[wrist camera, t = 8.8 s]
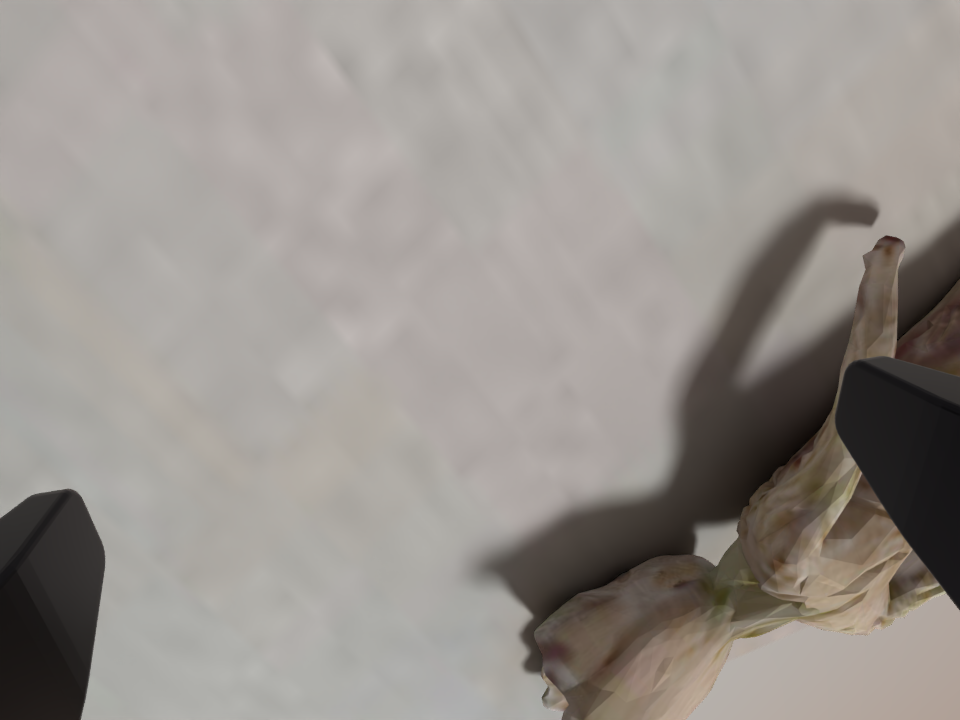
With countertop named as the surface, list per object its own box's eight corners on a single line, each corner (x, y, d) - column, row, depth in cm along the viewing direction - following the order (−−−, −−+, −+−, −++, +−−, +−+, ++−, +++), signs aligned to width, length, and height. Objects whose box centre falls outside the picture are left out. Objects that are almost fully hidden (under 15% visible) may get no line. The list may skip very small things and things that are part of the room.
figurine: (1027, 28, 25) (410, 604, 26) (1257, 31, 20) (473, 759, 20) (1087, 326, 34) (628, 751, 35) (1256, 383, 29) (711, 885, 29)
